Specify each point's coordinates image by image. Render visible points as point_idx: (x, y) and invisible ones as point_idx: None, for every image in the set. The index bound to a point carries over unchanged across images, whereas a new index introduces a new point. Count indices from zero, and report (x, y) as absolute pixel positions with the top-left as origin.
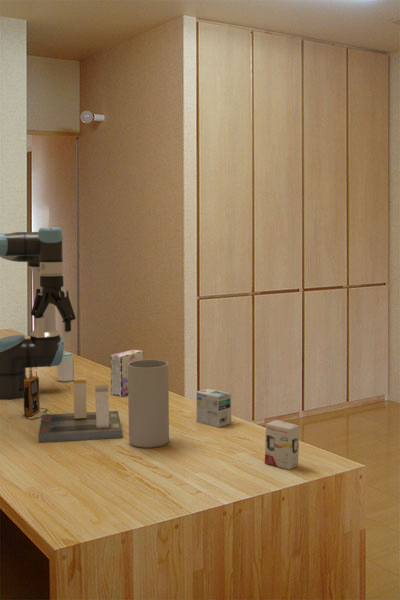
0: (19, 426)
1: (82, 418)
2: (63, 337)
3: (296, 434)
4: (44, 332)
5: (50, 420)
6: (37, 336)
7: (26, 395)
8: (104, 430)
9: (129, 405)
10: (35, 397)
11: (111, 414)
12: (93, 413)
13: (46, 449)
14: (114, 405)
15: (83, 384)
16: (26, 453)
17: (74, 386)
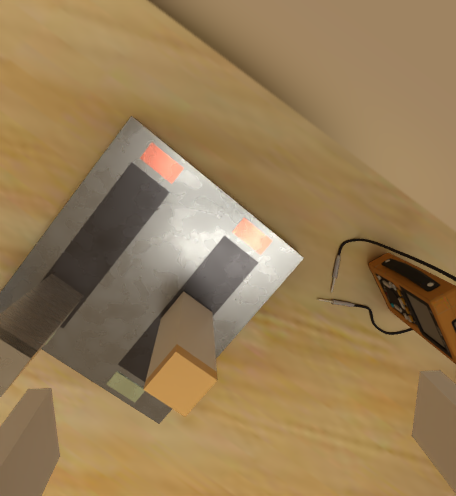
0: (315, 179)
1: None
2: (12, 418)
3: None
4: (435, 466)
5: (232, 236)
6: (433, 376)
7: (408, 271)
8: (19, 277)
9: None
10: (405, 308)
11: (139, 388)
12: None
13: (62, 92)
14: (264, 474)
15: (152, 371)
16: (73, 25)
17: (175, 340)
